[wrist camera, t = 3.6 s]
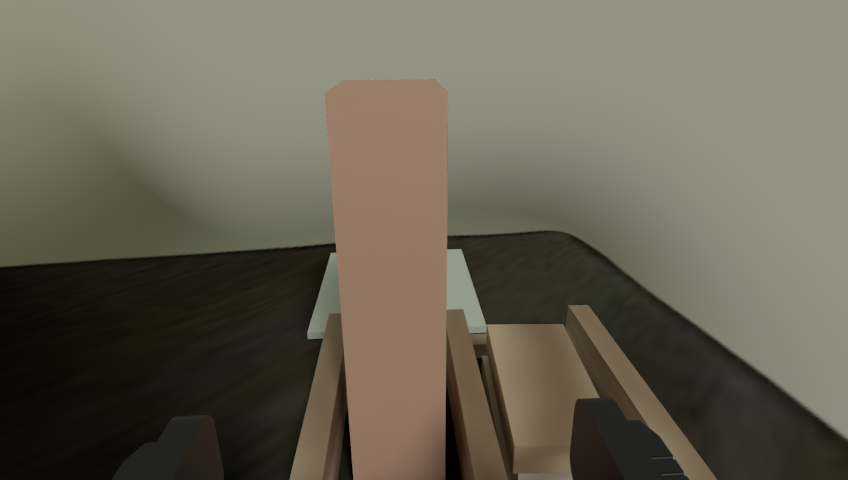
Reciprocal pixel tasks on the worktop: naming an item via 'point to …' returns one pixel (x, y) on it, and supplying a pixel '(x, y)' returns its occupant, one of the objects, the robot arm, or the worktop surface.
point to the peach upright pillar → (392, 270)
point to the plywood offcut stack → (534, 397)
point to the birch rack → (482, 400)
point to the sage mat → (457, 295)
